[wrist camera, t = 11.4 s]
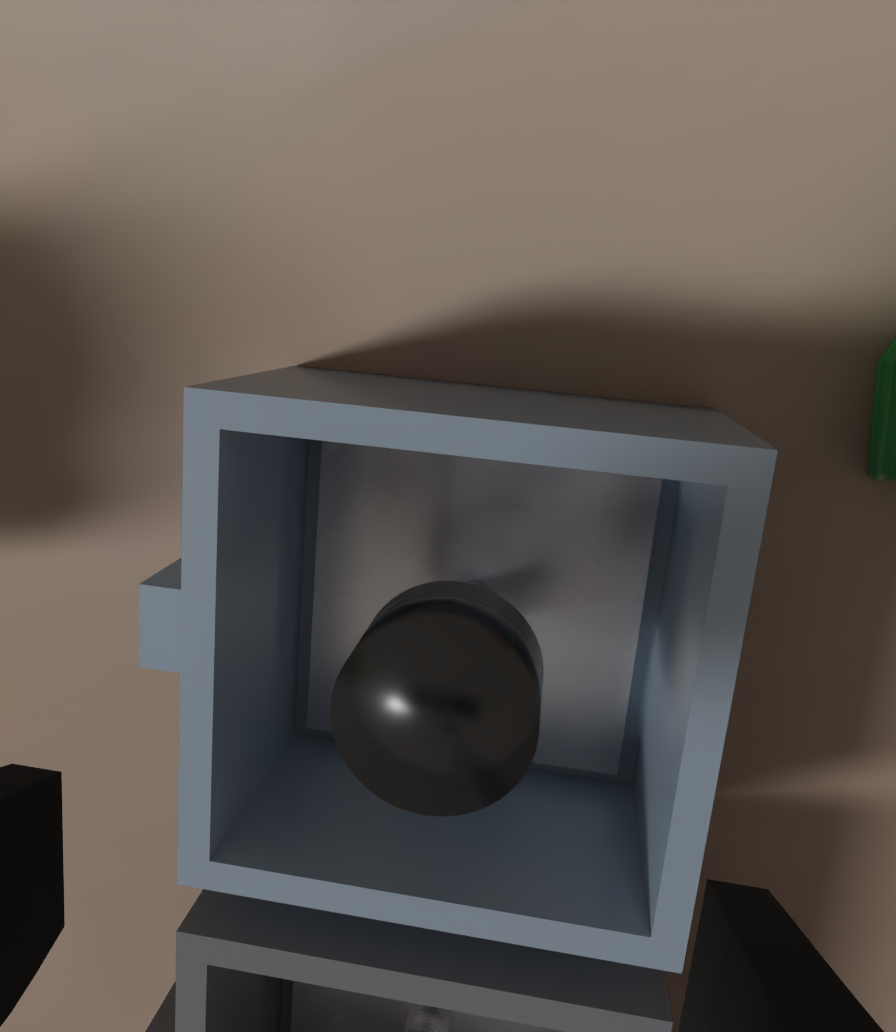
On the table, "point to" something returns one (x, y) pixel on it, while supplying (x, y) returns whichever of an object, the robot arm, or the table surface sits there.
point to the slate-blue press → (544, 788)
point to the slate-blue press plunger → (473, 619)
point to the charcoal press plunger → (383, 1014)
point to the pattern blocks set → (884, 418)
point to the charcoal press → (388, 972)
